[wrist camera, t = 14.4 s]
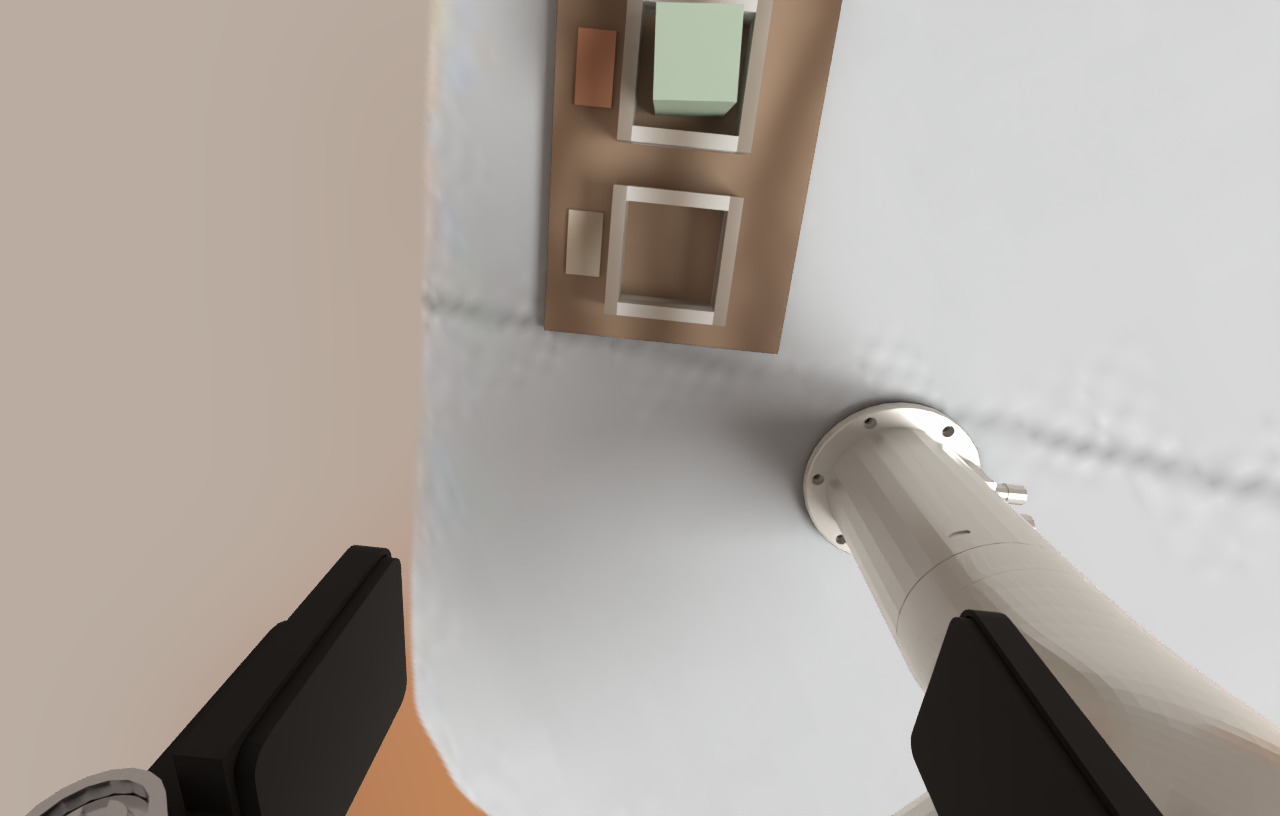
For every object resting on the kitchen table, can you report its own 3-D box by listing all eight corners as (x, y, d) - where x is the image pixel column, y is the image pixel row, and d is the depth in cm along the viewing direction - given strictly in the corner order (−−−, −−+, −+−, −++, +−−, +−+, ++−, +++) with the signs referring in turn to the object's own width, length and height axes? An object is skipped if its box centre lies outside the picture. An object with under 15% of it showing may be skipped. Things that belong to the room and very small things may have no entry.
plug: (727, 41, 35) (744, 3, 28) (722, 117, 37) (736, 101, 29) (658, 39, 35) (656, 1, 28) (655, 115, 37) (652, 99, 29)
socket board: (842, -23, 35) (863, -47, 31) (775, 350, 43) (785, 366, 39) (562, -51, 35) (550, -79, 31) (547, 326, 43) (535, 340, 39)
